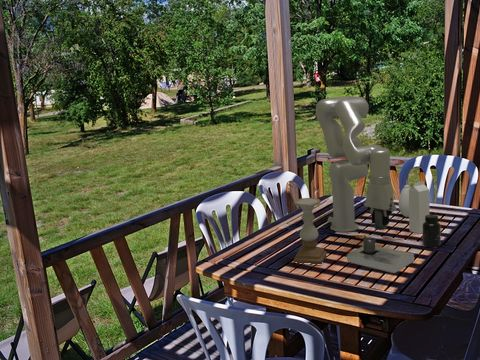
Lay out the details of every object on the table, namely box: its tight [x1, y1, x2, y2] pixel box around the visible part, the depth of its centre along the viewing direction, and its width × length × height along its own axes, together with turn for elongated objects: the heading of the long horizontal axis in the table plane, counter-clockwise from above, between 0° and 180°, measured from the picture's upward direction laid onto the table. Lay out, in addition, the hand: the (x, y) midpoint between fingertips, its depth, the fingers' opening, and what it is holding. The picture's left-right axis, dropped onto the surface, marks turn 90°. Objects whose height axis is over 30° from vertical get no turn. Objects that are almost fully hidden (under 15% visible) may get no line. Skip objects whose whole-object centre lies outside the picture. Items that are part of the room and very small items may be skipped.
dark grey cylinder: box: [374, 208, 387, 231], centre depth 209 cm, size 4×4×8 cm
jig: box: [346, 237, 415, 274], centre depth 197 cm, size 20×14×8 cm
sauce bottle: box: [398, 180, 411, 218], centre depth 248 cm, size 8×8×18 cm
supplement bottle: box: [422, 214, 442, 248], centre depth 209 cm, size 7×7×12 cm
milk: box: [408, 180, 430, 235], centre depth 226 cm, size 6×6×22 cm
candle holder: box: [293, 197, 328, 265], centre depth 203 cm, size 11×11×24 cm
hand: (380, 223), depth 210 cm, fingers closed on dark grey cylinder, 4 cm apart
